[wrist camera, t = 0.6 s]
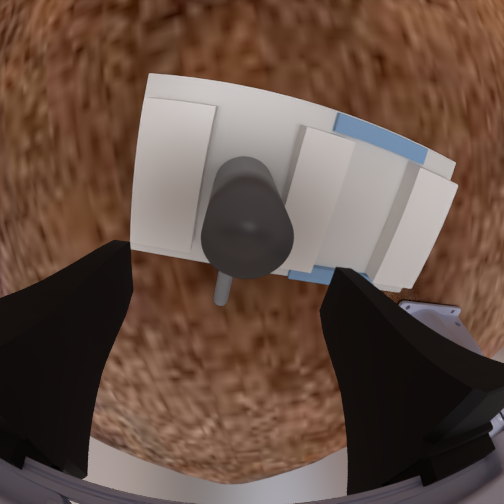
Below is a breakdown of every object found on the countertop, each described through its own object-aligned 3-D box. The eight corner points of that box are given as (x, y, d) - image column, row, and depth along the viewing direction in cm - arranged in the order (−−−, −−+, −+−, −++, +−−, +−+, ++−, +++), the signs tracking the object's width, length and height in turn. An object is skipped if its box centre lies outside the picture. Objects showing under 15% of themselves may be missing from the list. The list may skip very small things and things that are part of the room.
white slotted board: (451, 160, 18) (468, 168, 16) (396, 288, 23) (407, 303, 21) (151, 74, 14) (140, 71, 12) (132, 244, 20) (123, 260, 18)
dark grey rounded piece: (278, 163, 17) (305, 206, 11) (244, 295, 22) (247, 375, 15) (220, 151, 17) (208, 187, 10) (196, 287, 21) (183, 366, 15)
